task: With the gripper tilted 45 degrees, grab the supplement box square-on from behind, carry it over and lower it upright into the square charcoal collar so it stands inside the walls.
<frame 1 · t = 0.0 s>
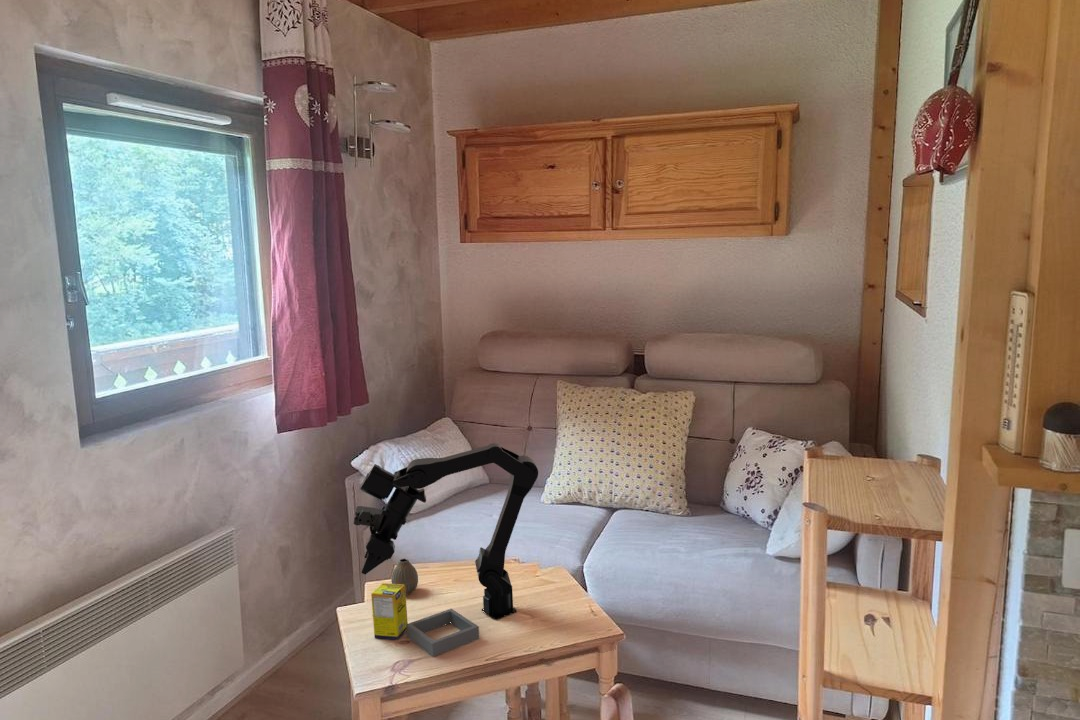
hand: (364, 565, 176), 15 cm above the table, tool tilted 35°, fingers open, 9 cm apart
supplement box: (391, 634, 173), on the table
vase: (405, 592, 195), on the table
collar: (442, 637, 170), on the table
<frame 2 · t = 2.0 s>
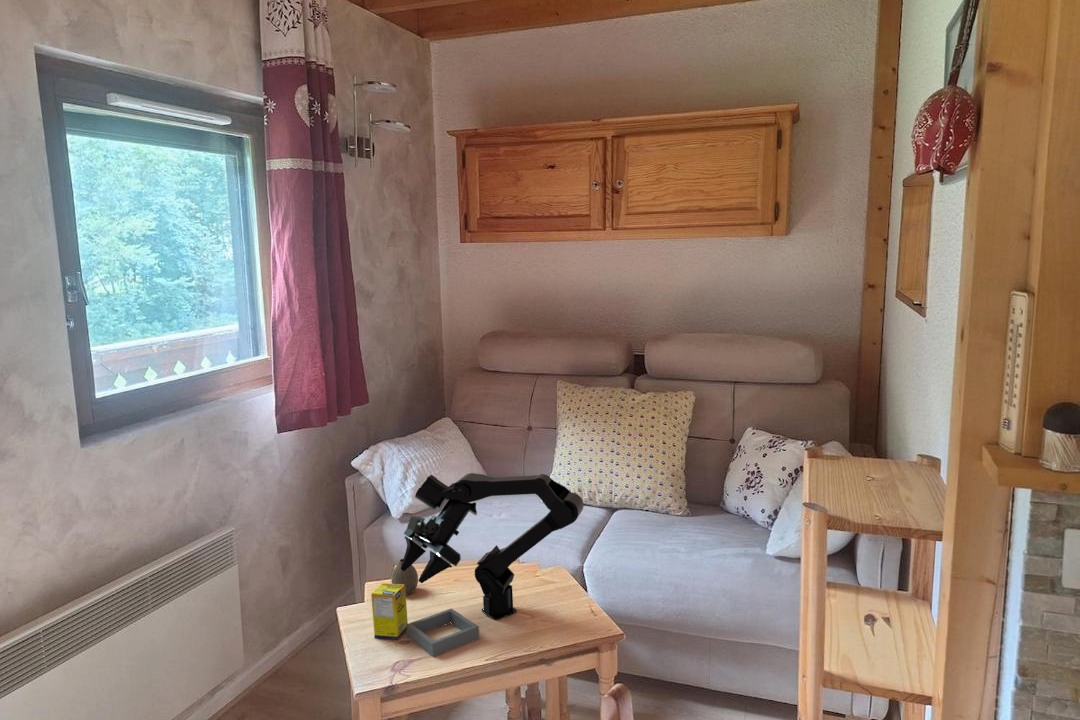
hand: (410, 576, 176), 12 cm above the table, tool tilted 45°, fingers open, 9 cm apart
nothing on the table moved.
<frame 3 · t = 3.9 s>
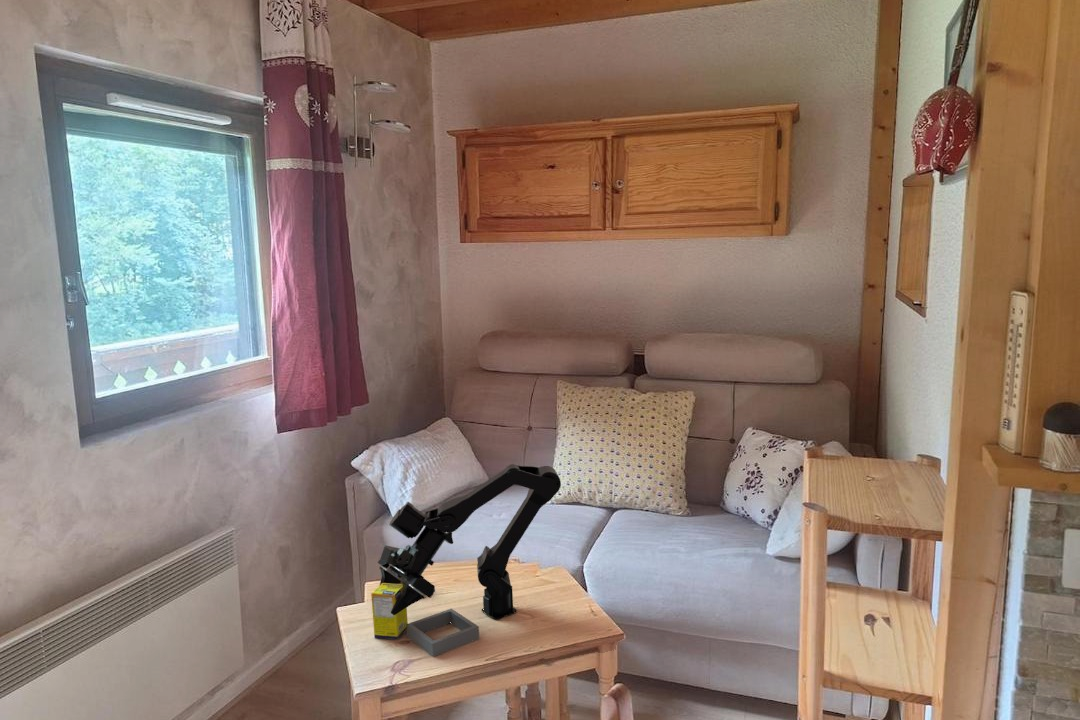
hand: (384, 607, 172), 7 cm above the table, tool tilted 45°, fingers closed on supplement box, 8 cm apart
supplement box: (391, 633, 173), on the table, touching gripper
everything else where it was.
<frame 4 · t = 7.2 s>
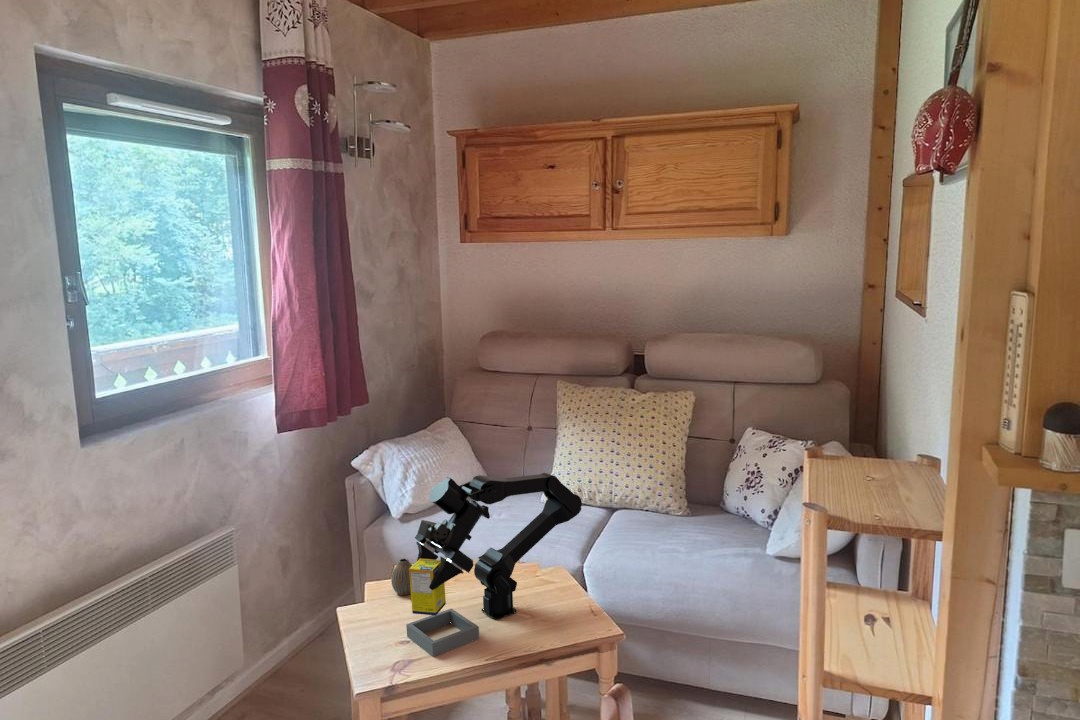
hand: (422, 582, 169), 13 cm above the table, tool tilted 45°, fingers closed on supplement box, 8 cm apart
supplement box: (429, 609, 171), point 6 cm above the table, touching gripper
everything else where it was.
when the fingers open (7 cm above the table, at t = 10.8 s): supplement box stays where it is, resting in collar.
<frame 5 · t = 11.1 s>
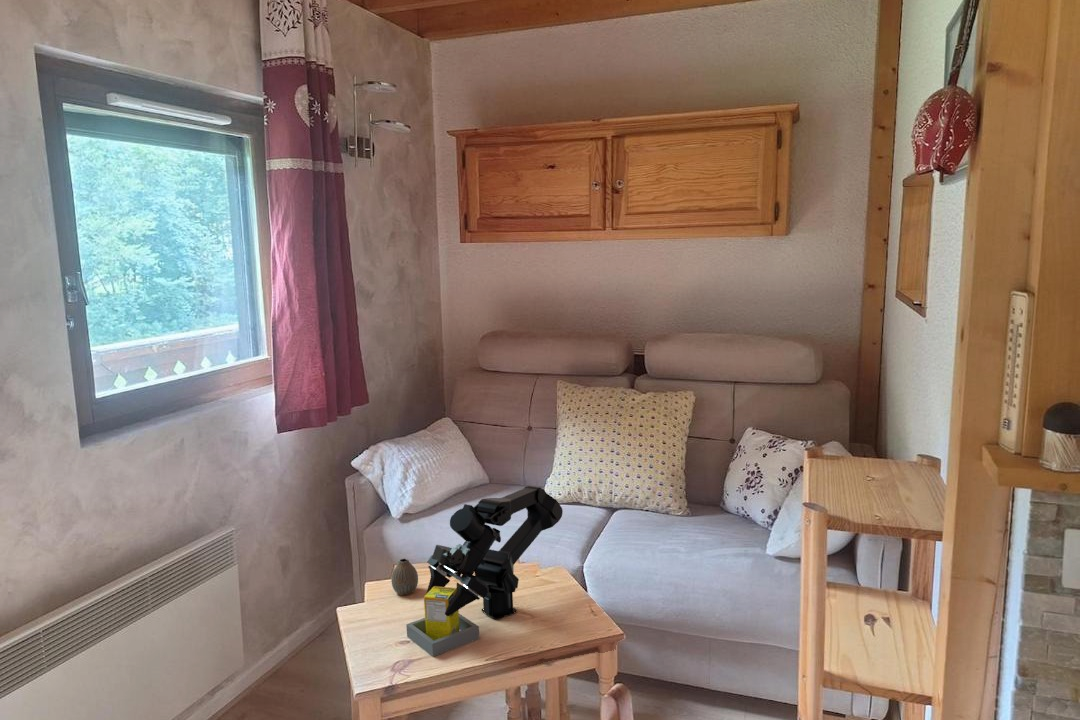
hand: (435, 608, 169), 8 cm above the table, tool tilted 45°, fingers open, 9 cm apart
supplement box: (443, 638, 171), resting in collar
everything else where it was.
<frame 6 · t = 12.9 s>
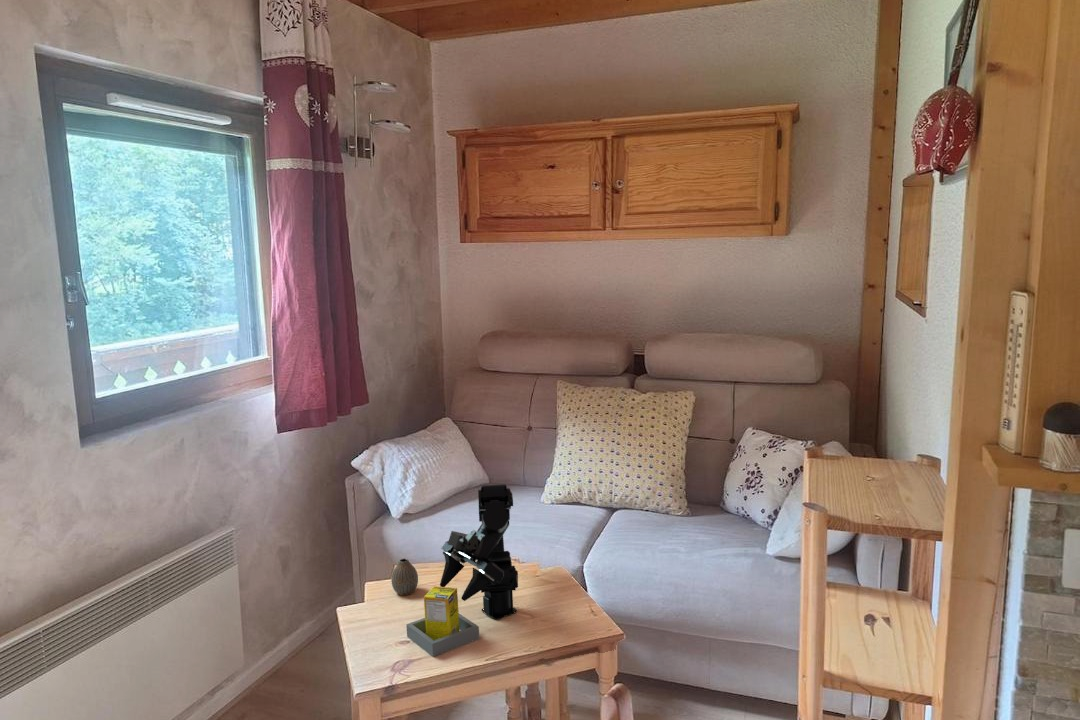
hand: (451, 593, 171), 10 cm above the table, tool tilted 45°, fingers open, 9 cm apart
nothing on the table moved.
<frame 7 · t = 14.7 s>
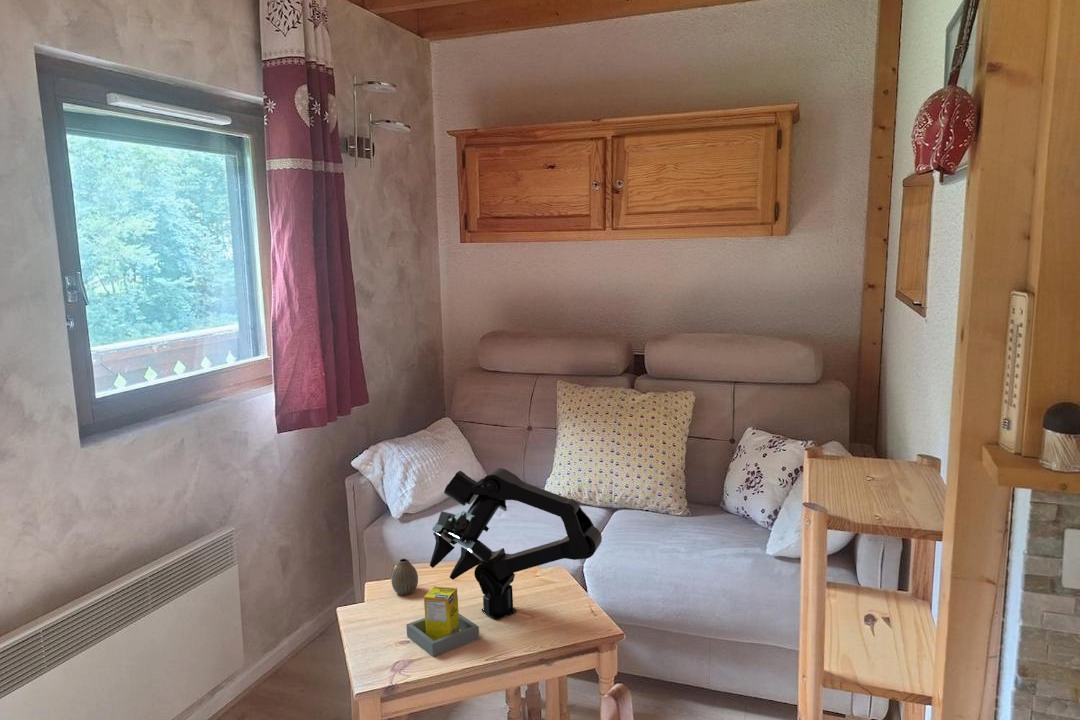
hand: (440, 572, 173), 14 cm above the table, tool tilted 45°, fingers open, 9 cm apart
nothing on the table moved.
at the end: supplement box 0.3 cm off-centre on the collar, point 0.0 cm above the collar's base; supplement box tilted 0°; the gripper is holding nothing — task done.
